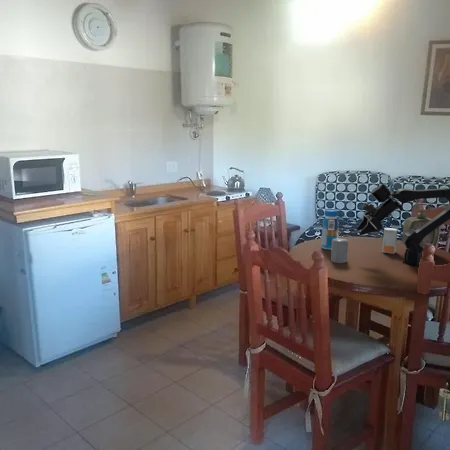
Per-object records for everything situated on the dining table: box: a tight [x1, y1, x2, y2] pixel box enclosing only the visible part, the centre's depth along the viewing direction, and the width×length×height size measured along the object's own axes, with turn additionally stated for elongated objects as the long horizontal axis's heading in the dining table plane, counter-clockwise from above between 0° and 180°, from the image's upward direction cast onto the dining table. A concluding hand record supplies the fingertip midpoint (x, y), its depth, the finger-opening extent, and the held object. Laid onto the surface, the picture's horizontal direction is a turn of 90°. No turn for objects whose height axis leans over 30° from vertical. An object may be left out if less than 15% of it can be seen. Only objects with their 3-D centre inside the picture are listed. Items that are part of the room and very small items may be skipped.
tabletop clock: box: [402, 203, 440, 248], centre depth 229 cm, size 14×9×25 cm, turn 92°
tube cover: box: [330, 237, 349, 264], centre depth 216 cm, size 7×7×10 cm
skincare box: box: [381, 227, 399, 255], centre depth 231 cm, size 6×4×12 cm
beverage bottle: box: [321, 208, 340, 251], centre depth 237 cm, size 8×8×20 cm
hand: (358, 232), depth 213 cm, fingers open, 9 cm apart
